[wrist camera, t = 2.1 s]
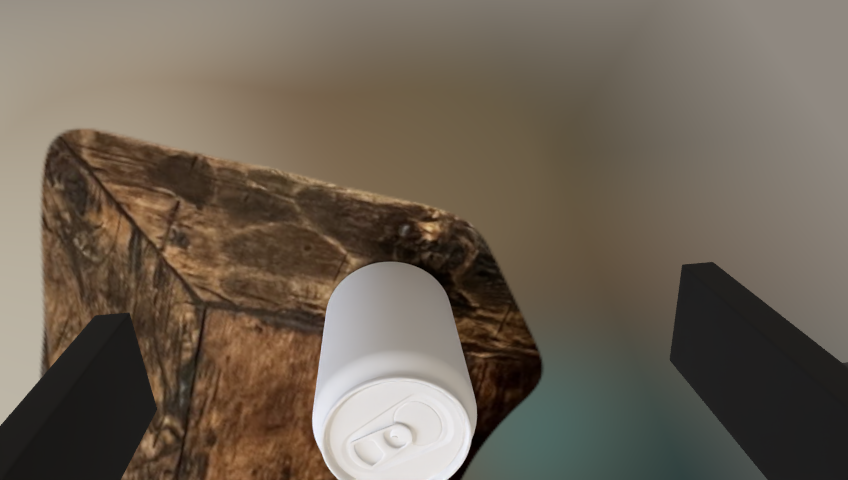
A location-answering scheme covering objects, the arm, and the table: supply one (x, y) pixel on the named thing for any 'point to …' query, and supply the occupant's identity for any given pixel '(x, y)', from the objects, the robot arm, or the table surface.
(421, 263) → the table surface
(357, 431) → the beverage can
